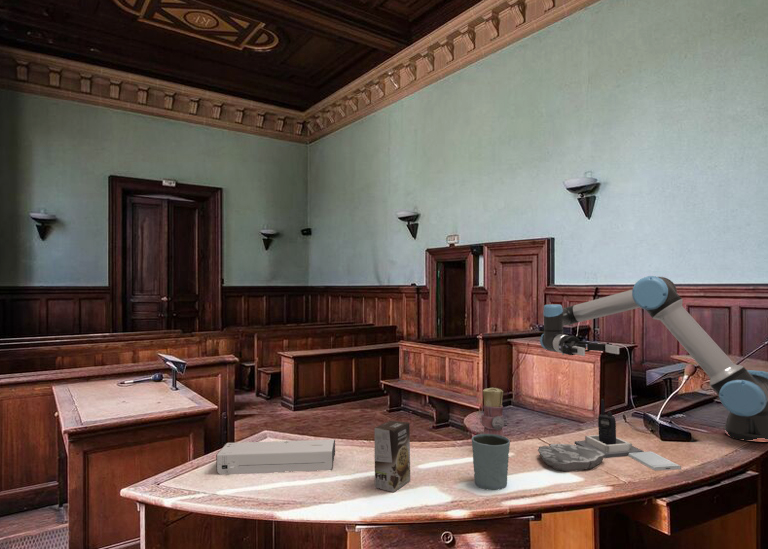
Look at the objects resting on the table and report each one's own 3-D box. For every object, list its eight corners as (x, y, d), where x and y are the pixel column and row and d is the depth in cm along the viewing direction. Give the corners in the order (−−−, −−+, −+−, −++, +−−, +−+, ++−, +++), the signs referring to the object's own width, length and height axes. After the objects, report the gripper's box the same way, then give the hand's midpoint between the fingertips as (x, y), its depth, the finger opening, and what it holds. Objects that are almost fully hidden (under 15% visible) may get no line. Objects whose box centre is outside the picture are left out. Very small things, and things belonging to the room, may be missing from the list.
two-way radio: (596, 445, 159) (595, 399, 159) (603, 442, 162) (601, 396, 162) (614, 449, 155) (612, 401, 155) (620, 446, 158) (618, 399, 158)
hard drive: (628, 452, 151) (654, 466, 139) (652, 451, 152) (681, 465, 140) (628, 458, 151) (654, 472, 139) (652, 456, 152) (681, 470, 140)
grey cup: (470, 476, 137) (469, 433, 137) (506, 476, 137) (505, 433, 137) (475, 491, 127) (474, 445, 127) (514, 491, 126) (513, 444, 127)
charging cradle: (614, 440, 166) (613, 431, 166) (643, 454, 153) (643, 444, 153) (574, 444, 163) (574, 435, 163) (601, 458, 150) (600, 448, 150)
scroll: (480, 455, 154) (479, 391, 155) (480, 447, 162) (478, 387, 162) (505, 456, 153) (504, 392, 154) (503, 448, 160) (502, 387, 161)
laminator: (335, 458, 155) (335, 439, 155) (333, 473, 142) (332, 451, 142) (226, 462, 153) (226, 442, 153) (215, 477, 141) (215, 455, 141)
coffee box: (394, 493, 127) (393, 430, 127) (374, 488, 130) (373, 427, 131) (411, 481, 134) (410, 422, 135) (391, 476, 138) (390, 419, 138)
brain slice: (568, 449, 159) (568, 440, 159) (613, 465, 144) (613, 455, 144) (522, 459, 150) (522, 450, 151) (565, 478, 135) (565, 467, 135)
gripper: (595, 352, 195) (632, 360, 174) (538, 355, 190) (569, 363, 169) (594, 334, 195) (631, 339, 174) (537, 336, 190) (569, 341, 169)
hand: (601, 351), depth 172 cm, fingers open, 13 cm apart
